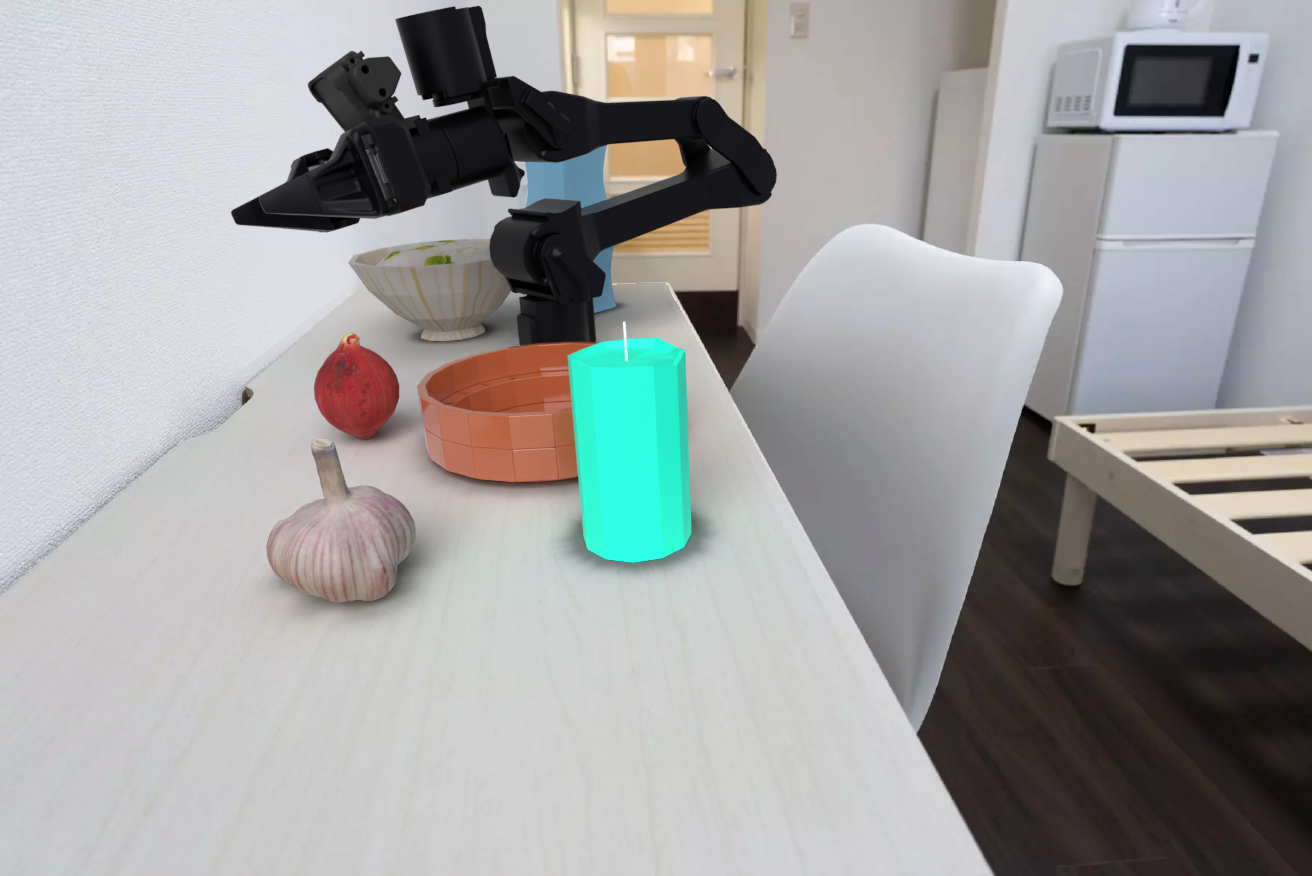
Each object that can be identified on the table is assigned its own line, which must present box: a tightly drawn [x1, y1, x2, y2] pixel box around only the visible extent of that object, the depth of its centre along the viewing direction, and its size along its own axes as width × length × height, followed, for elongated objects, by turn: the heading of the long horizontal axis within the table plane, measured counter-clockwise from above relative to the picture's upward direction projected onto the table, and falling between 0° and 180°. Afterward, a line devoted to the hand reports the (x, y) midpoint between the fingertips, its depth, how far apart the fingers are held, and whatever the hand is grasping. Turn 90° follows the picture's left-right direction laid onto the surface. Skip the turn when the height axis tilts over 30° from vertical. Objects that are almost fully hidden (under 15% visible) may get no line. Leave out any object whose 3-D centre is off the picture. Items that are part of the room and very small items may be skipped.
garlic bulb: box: [266, 437, 417, 603], centre depth 41 cm, size 8×7×8 cm
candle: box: [567, 321, 693, 563], centre depth 44 cm, size 6×6×12 cm
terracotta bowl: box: [416, 341, 598, 483], centre depth 59 cm, size 17×17×5 cm
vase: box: [524, 145, 617, 314], centre depth 97 cm, size 8×8×20 cm
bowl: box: [347, 238, 512, 342], centre depth 90 cm, size 19×19×10 cm
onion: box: [313, 332, 400, 440], centre depth 61 cm, size 6×6×8 cm
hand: (246, 212), depth 59 cm, fingers open, 9 cm apart
